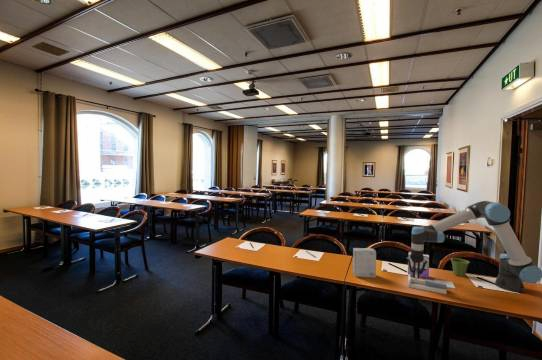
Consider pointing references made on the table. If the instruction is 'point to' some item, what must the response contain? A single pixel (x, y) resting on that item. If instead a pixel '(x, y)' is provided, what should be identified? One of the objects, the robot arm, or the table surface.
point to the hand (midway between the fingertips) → (415, 282)
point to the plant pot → (459, 266)
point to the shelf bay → (423, 286)
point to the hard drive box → (364, 262)
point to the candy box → (426, 269)
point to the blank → (435, 284)
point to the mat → (449, 284)
